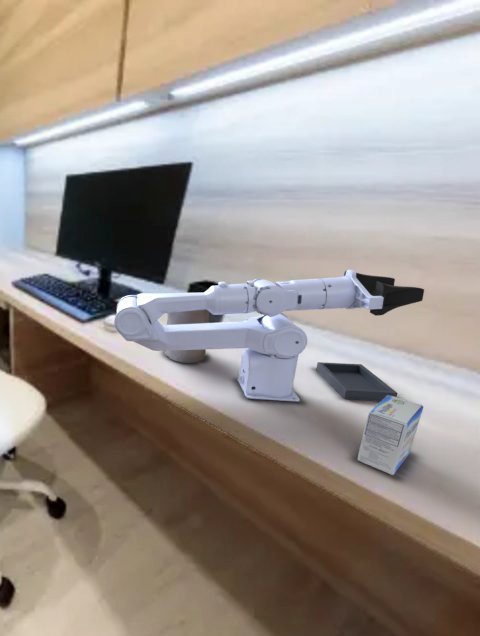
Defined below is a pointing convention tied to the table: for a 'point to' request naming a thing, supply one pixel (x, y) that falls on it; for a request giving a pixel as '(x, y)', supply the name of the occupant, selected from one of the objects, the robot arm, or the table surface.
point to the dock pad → (354, 381)
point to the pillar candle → (187, 318)
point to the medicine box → (389, 433)
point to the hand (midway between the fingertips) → (406, 288)
